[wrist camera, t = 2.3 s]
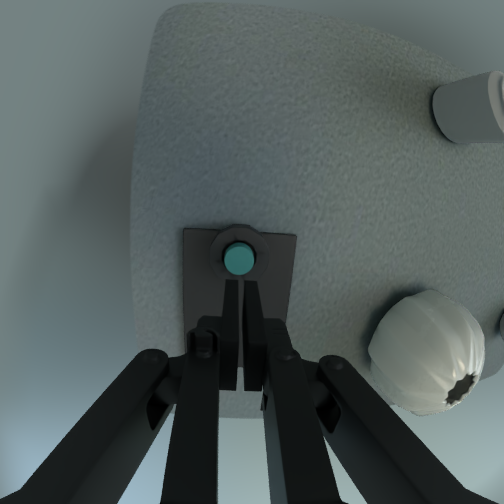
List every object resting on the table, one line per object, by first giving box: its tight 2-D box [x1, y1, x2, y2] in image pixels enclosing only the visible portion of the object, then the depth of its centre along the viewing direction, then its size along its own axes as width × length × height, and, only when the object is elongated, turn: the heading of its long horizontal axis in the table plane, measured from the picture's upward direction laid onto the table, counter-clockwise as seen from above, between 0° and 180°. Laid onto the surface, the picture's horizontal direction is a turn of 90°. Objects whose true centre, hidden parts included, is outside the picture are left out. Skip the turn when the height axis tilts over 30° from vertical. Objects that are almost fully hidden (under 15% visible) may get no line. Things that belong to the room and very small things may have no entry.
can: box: [433, 71, 504, 144], centre depth 19 cm, size 8×8×12 cm
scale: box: [183, 224, 297, 367], centre depth 28 cm, size 17×11×2 cm, turn 176°
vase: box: [368, 289, 485, 416], centre depth 25 cm, size 14×14×13 cm
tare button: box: [224, 242, 254, 275], centre depth 25 cm, size 3×3×2 cm
